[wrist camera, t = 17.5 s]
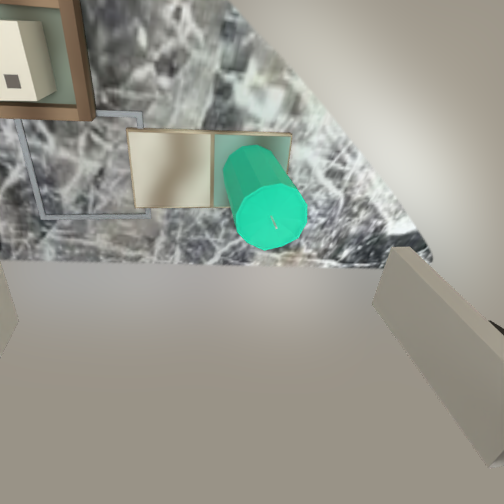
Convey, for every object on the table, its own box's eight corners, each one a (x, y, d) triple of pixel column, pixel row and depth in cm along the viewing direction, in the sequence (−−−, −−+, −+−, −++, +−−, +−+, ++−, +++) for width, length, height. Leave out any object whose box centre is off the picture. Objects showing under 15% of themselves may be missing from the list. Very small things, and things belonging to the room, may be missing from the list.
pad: (41, 218, 37) (40, 219, 37) (11, 106, 31) (10, 106, 31) (151, 217, 39) (151, 218, 39) (141, 111, 33) (141, 111, 33)
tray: (-25, 110, 31) (-40, 116, 29) (-66, -18, 26) (-87, -22, 24) (97, 115, 33) (91, 121, 31) (79, -5, 28) (71, -7, 26)
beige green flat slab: (135, 205, 38) (134, 208, 37) (126, 127, 34) (125, 129, 33) (281, 204, 41) (283, 208, 40) (290, 132, 37) (292, 135, 36)
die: (-8, 89, 30) (-39, 100, 26) (-30, 18, 27) (-68, 17, 23) (56, 90, 31) (36, 101, 27) (41, 21, 28) (16, 21, 24)
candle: (213, 157, 36) (225, 209, 26) (270, 135, 36) (304, 179, 26) (234, 207, 39) (251, 270, 29) (286, 188, 39) (321, 245, 29)
